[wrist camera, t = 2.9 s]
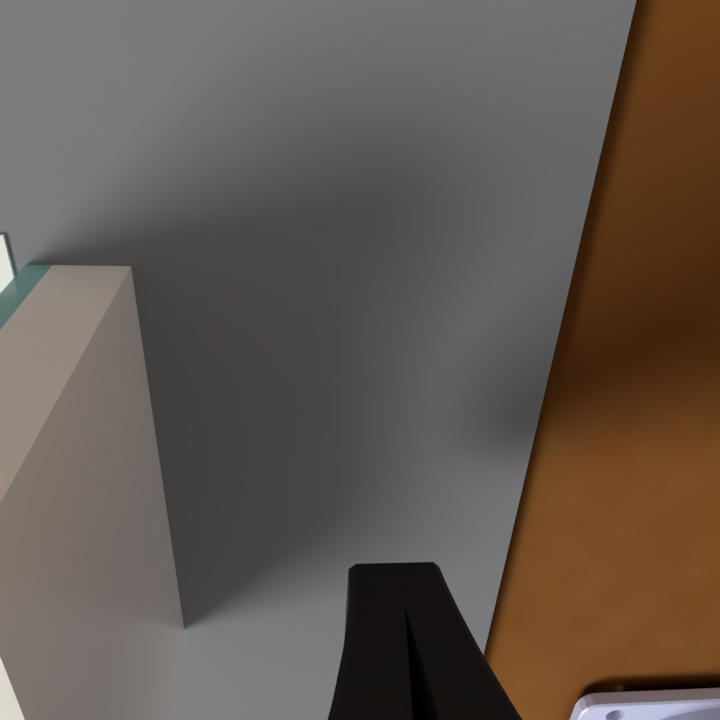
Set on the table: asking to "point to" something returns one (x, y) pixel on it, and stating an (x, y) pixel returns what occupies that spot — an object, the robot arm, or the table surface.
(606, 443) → the table surface
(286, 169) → the mat
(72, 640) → the tile
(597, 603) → the table surface
